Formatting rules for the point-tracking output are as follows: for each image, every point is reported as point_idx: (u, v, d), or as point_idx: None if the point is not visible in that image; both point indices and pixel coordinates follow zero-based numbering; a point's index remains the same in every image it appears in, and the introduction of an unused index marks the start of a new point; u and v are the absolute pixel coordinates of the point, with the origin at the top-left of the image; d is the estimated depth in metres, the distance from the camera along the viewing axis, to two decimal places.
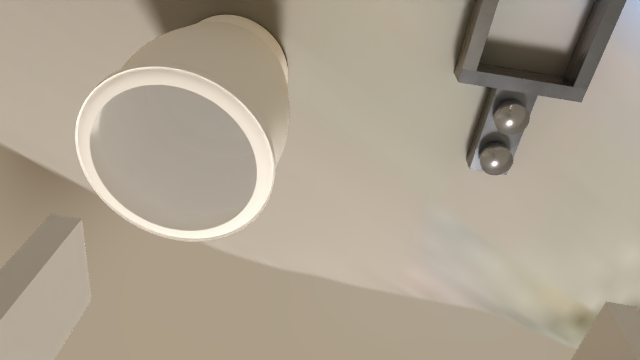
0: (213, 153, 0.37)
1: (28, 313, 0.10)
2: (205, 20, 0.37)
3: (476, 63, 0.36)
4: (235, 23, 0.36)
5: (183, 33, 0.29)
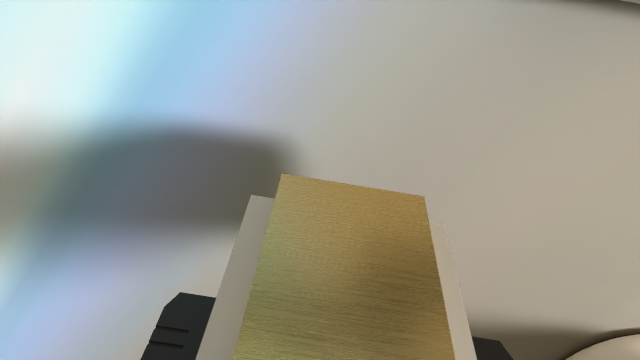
0: None
1: None
2: None
3: None
4: None
5: None
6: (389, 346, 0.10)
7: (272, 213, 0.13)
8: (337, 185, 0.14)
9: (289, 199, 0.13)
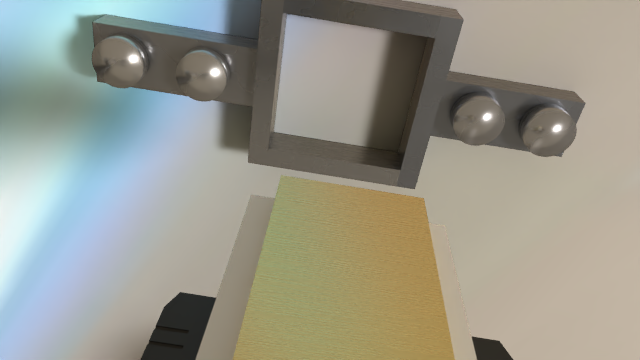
0: None
1: None
2: None
3: (389, 170, 0.27)
4: None
5: None
6: (389, 350, 0.09)
7: (271, 215, 0.12)
8: (337, 187, 0.14)
9: (289, 201, 0.13)
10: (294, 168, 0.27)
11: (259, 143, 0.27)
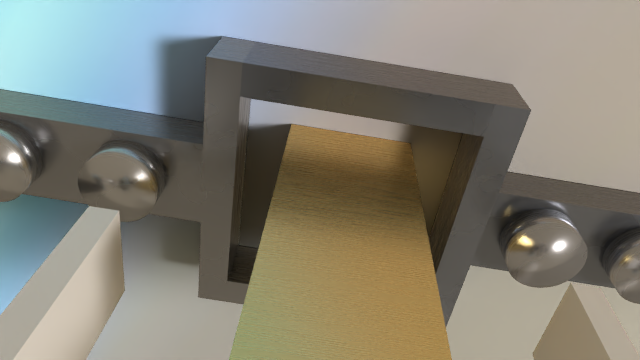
0: None
1: (74, 300, 0.11)
2: None
3: None
4: None
5: None
6: (379, 238, 0.12)
7: (285, 151, 0.15)
8: (338, 133, 0.17)
9: (299, 142, 0.16)
10: None
11: (213, 274, 0.18)
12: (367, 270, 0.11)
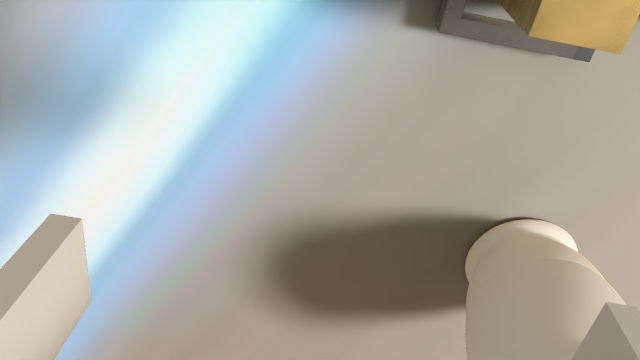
0: None
1: (28, 313, 0.10)
2: (467, 278, 0.41)
3: None
4: (474, 259, 0.39)
5: (468, 352, 0.33)
6: None
7: None
8: None
9: None
10: (481, 39, 0.30)
11: (453, 13, 0.29)
12: None
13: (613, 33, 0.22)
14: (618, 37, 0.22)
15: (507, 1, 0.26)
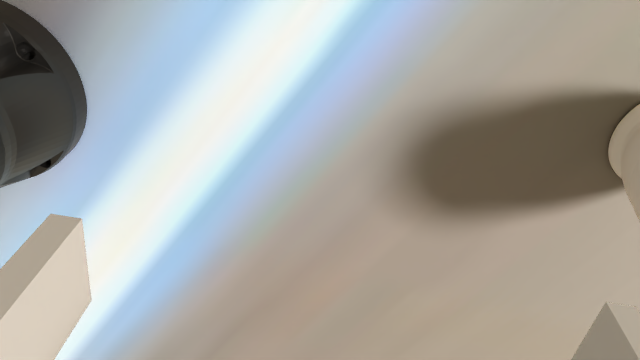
0: None
1: (28, 313, 0.10)
2: (611, 158, 0.41)
3: None
4: (623, 135, 0.40)
5: None
6: None
7: None
8: None
9: None
10: None
11: None
12: None
13: None
14: None
15: None
